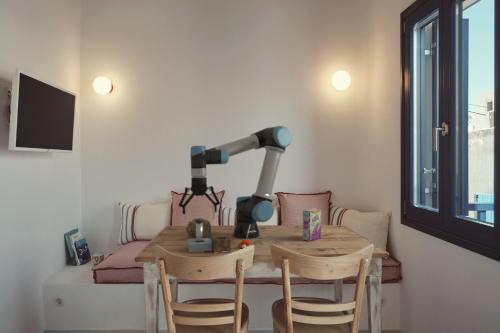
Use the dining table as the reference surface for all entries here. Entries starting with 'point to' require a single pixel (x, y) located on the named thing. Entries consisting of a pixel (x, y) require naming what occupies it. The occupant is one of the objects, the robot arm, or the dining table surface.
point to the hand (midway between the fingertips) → (200, 219)
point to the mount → (221, 243)
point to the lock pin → (199, 230)
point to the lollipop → (245, 241)
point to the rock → (192, 228)
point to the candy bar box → (311, 224)
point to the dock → (199, 245)
